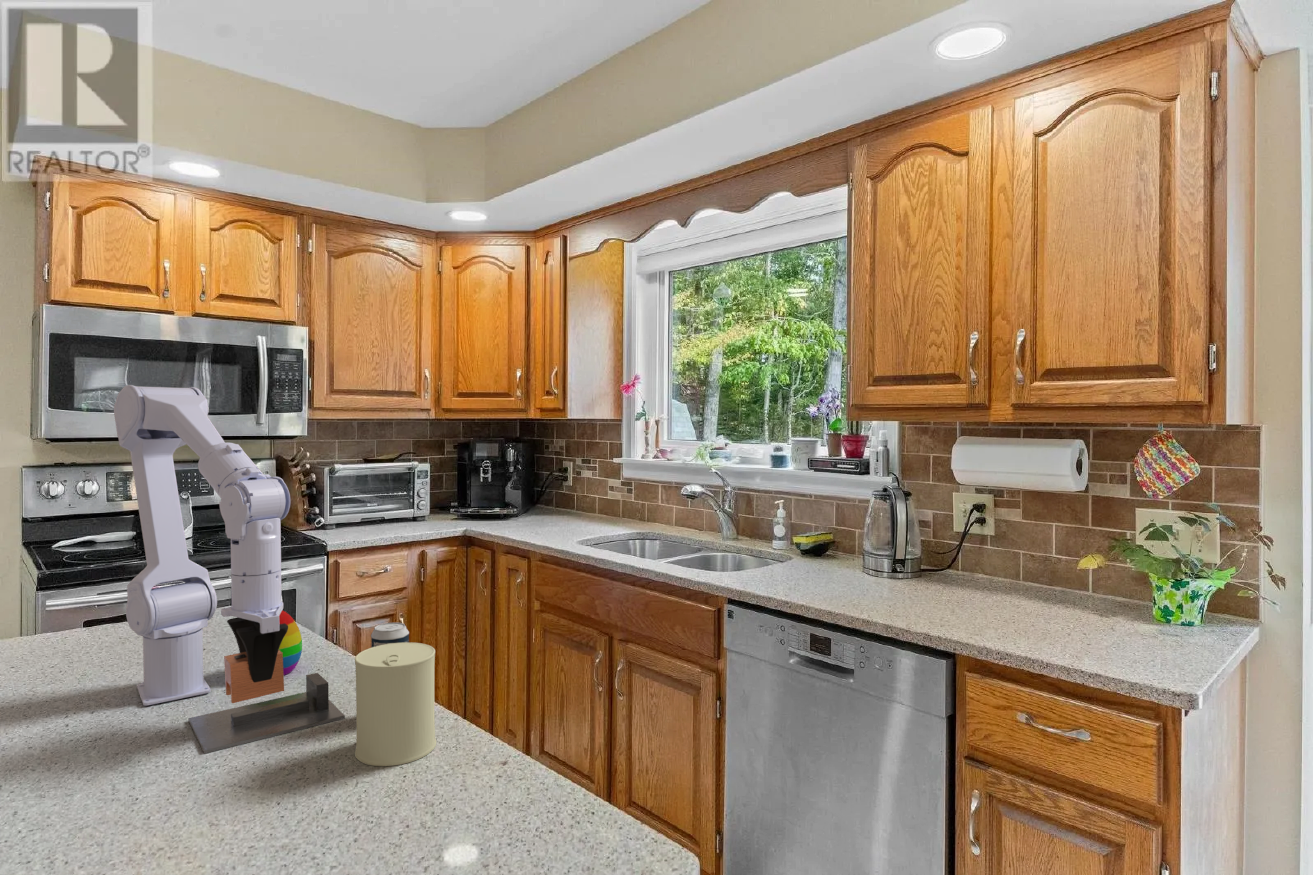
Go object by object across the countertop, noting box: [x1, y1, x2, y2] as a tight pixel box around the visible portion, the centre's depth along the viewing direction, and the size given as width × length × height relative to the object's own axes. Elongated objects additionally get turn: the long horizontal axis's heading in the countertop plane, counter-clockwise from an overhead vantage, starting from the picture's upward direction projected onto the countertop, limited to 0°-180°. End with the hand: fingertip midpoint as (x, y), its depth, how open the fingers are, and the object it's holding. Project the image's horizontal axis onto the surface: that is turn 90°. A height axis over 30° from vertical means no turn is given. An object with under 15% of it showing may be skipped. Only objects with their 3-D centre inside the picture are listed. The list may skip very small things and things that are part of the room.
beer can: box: [370, 622, 410, 648], centre depth 99 cm, size 5×5×12 cm
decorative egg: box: [279, 610, 303, 676], centre depth 115 cm, size 8×8×10 cm
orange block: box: [223, 650, 285, 704], centre depth 96 cm, size 4×6×5 cm, turn 130°
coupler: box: [187, 672, 346, 754], centre depth 97 cm, size 12×16×4 cm
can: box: [354, 641, 437, 767], centre depth 89 cm, size 9×9×12 cm
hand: (258, 675), depth 96 cm, fingers closed on orange block, 4 cm apart
